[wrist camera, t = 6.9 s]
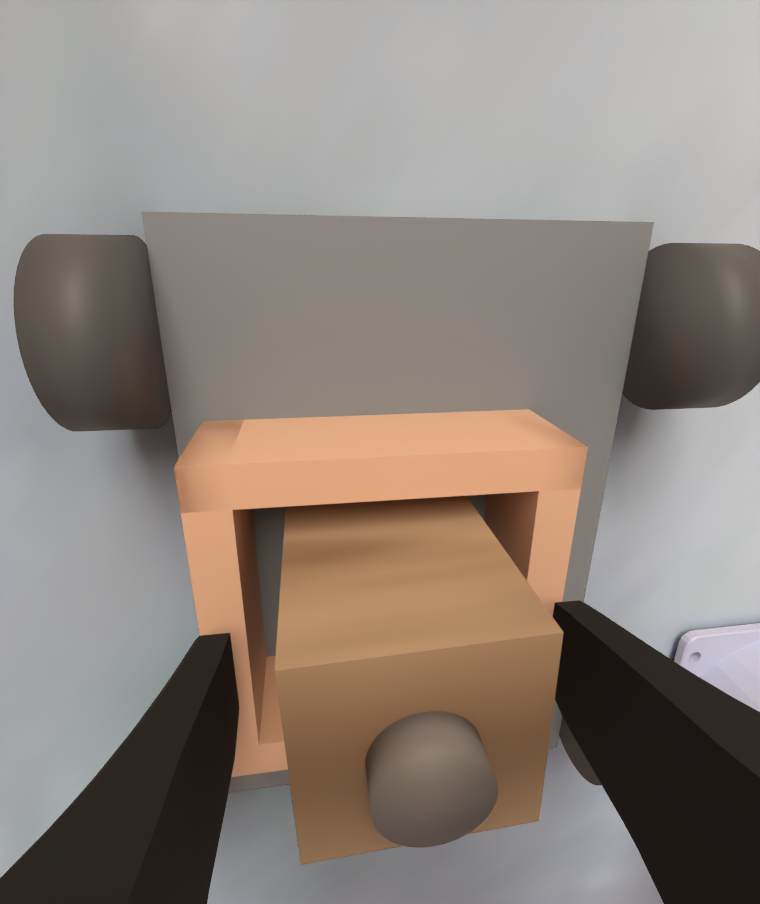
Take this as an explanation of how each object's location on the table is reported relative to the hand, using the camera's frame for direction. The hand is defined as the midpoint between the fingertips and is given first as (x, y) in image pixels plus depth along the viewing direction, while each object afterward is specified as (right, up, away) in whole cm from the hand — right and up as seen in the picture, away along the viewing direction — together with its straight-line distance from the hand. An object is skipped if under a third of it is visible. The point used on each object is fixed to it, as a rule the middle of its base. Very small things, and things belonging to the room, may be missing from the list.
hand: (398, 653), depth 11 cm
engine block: (-1, +2, +4) cm, 4 cm away
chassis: (0, +2, +5) cm, 5 cm away
